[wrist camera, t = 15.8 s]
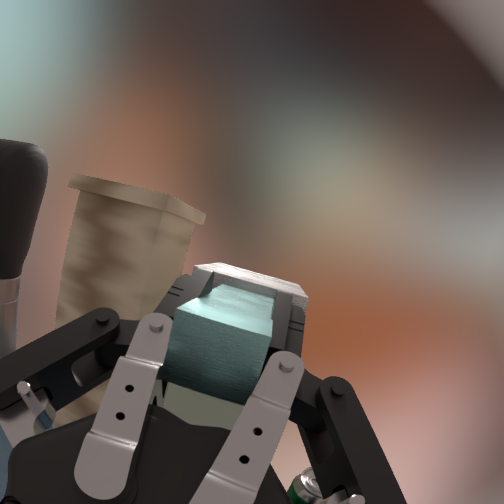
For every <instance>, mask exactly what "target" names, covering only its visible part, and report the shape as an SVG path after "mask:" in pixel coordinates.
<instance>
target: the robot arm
mask: <svg viewBox="0 0 504 504" xmlns="http://www.w3.org/2000/svg"><path fill="white" fill-rule="evenodd" d="M47 176H48V163H47V158H46V155H45V153H44V151H43V150H42V149H41V148H40V147H39V146H37V145H34V144H30V143H25V142H19V141H12V140H5V139H0V425H1V427H2V428H3V430H4V432H5V434H6V436H7V438H8V440H9V441H10V443H11V445H12V447H13V450H12V452H11V454H10V457H9V461H8V482H7V488H6V492H5V495H4V498H3V499H2V501H1V502H0V504H293V502H292V501H291V499H290V497H289V496H288V494H287V492H286V490H285V489H284V487H283V485H282V484H281V482H280V480H279V479H278V477H277V475H276V473H275V472H274V469H273V468H272V466H271V464H270V462H271V460H272V458H273V455H274V453H275V451H276V448H277V446H278V443H279V441H280V438H281V436H282V433H283V431H284V428H285V426H286V423H287V421H288V419H289V420H290V421H292V422H294V423H296V424H297V426H298V429H299V432H300V435H301V438H302V440H303V443H304V446H305V449H306V452H307V455H308V458H309V460H310V463H311V466H312V469H313V472H314V475H315V478H316V480H317V483H318V486H319V489H320V492H321V495H322V497H323V500H322V501H321V502H320V503H319V504H407V503H406V500H405V498H404V496H403V494H402V491H401V489H400V487H399V485H398V482H397V480H396V478H395V476H394V474H393V472H392V470H391V467H390V465H389V463H388V461H387V459H386V456H385V454H384V452H383V450H382V448H381V446H380V444H379V442H378V439H377V437H376V435H375V433H374V431H373V429H372V427H371V425H370V422H369V421H368V419H367V416H366V414H365V412H364V410H363V408H362V406H361V404H360V402H359V400H358V398H357V396H356V394H355V391H354V390H353V387H352V386H351V384H350V383H349V382H348V381H346V380H345V379H343V378H340V377H336V376H331V377H328V378H325V379H324V380H321V379H319V378H317V377H316V376H314V375H312V374H310V373H309V372H308V371H307V370H306V369H305V368H304V363H303V361H302V360H301V350H302V342H303V331H304V324H305V314H304V312H303V309H302V307H299V306H296V305H292V300H293V293H290V292H287V291H283V290H279V289H278V290H277V293H276V296H275V300H274V303H273V306H272V314H271V320H273V323H272V338H271V341H270V345H269V348H268V351H267V354H266V357H265V361H264V364H263V367H262V370H261V373H260V376H259V380H258V383H257V385H256V387H255V389H254V391H253V393H252V394H251V395H250V397H249V398H248V400H247V402H246V404H245V406H244V408H243V410H242V412H241V414H240V416H239V418H238V419H237V421H236V423H235V425H234V427H233V429H232V430H228V429H225V428H221V427H212V426H200V425H192V424H189V423H187V422H185V421H184V420H182V419H180V418H179V417H177V416H176V415H174V414H173V413H171V412H169V411H168V410H166V409H165V408H164V403H165V398H166V394H167V390H168V386H169V382H168V381H165V380H163V379H162V377H163V372H164V368H165V365H166V359H167V351H168V348H167V346H168V342H169V337H170V333H171V328H172V324H173V320H174V315H175V311H176V308H178V307H179V306H181V305H183V304H185V303H187V302H189V301H191V300H193V299H195V298H199V297H201V296H203V295H205V294H206V293H208V292H210V291H212V287H213V280H214V271H212V270H208V269H205V268H201V267H198V268H197V270H196V271H195V273H194V274H193V276H190V275H187V274H185V275H182V276H181V277H179V278H177V279H176V280H175V282H174V283H173V285H172V287H170V289H169V290H168V292H167V293H166V294H165V296H164V297H163V299H162V300H161V302H160V303H159V304H158V306H157V307H156V309H155V310H154V312H153V313H150V314H147V315H145V316H144V317H142V319H141V320H125V319H120V318H119V315H118V313H117V312H116V311H115V310H113V309H111V308H106V307H101V308H97V309H94V310H92V311H90V312H88V313H86V314H85V315H83V316H81V317H79V318H77V319H75V320H73V321H71V322H69V323H67V324H65V325H63V326H61V327H59V328H57V329H56V330H54V331H52V332H50V333H48V334H46V335H44V336H42V337H41V338H38V339H37V340H35V341H33V342H31V343H29V344H27V345H25V346H23V347H21V348H20V349H18V350H16V335H17V314H18V300H19V289H20V280H21V272H22V266H23V263H24V260H25V258H26V256H27V253H28V250H29V248H30V244H31V239H32V235H33V231H34V227H35V223H36V220H37V216H38V212H39V208H40V205H41V202H42V199H43V195H44V191H45V187H46V183H47ZM109 378H110V381H109V383H108V386H107V388H106V391H105V394H104V396H103V399H102V401H101V404H100V407H99V410H98V412H96V413H94V414H91V415H89V416H86V417H84V418H81V419H79V420H76V421H73V422H71V423H68V424H65V425H63V426H60V427H57V428H54V429H51V430H49V431H46V429H49V428H51V427H52V425H53V422H54V420H55V416H56V412H57V411H58V410H60V409H62V408H63V407H65V406H67V405H68V404H70V403H71V402H73V401H75V400H76V399H78V398H79V397H81V396H82V395H84V394H86V393H87V392H89V391H90V390H92V389H94V388H95V387H97V386H98V385H100V384H101V383H103V382H105V381H106V380H108V379H109ZM45 431H46V432H45Z"/></svg>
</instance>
